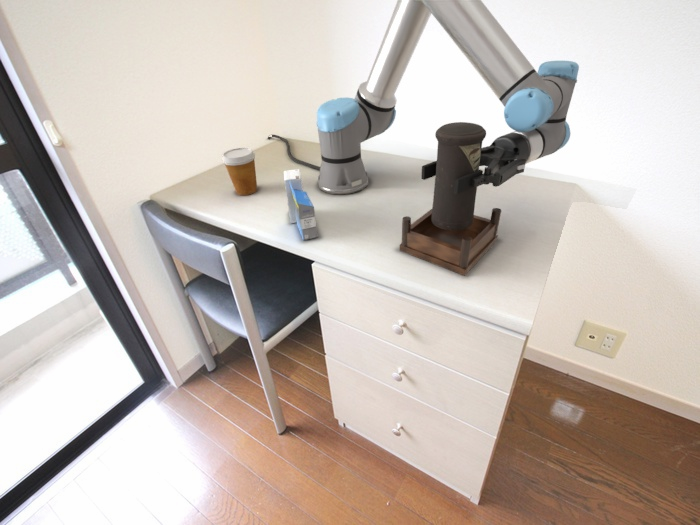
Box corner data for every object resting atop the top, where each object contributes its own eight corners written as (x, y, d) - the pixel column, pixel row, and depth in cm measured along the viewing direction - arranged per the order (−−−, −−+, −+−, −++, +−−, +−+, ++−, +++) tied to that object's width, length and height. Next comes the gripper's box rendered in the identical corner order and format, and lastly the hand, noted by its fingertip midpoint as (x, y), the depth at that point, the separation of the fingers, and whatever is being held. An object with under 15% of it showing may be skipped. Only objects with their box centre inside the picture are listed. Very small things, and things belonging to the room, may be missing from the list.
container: (474, 233, 74) (489, 132, 63) (429, 231, 76) (435, 133, 64) (471, 212, 81) (484, 118, 69) (430, 211, 83) (436, 119, 71)
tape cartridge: (318, 237, 88) (312, 190, 81) (302, 241, 88) (294, 193, 80) (311, 220, 95) (304, 175, 88) (296, 223, 95) (288, 178, 87)
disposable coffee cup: (267, 184, 116) (259, 147, 109) (254, 198, 108) (245, 159, 101) (239, 183, 118) (230, 146, 111) (225, 197, 110) (214, 158, 103)
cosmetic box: (289, 212, 100) (282, 170, 93) (306, 210, 100) (299, 168, 93) (290, 224, 95) (282, 180, 88) (307, 221, 95) (301, 177, 88)
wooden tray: (399, 250, 82) (399, 219, 77) (435, 221, 91) (437, 191, 86) (464, 276, 73) (469, 242, 69) (497, 241, 82) (503, 209, 78)
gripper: (555, 180, 75) (480, 217, 65) (474, 154, 89) (402, 181, 79) (566, 143, 70) (486, 177, 61) (478, 122, 85) (403, 147, 75)
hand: (439, 179), depth 70 cm, fingers closed on container, 8 cm apart
